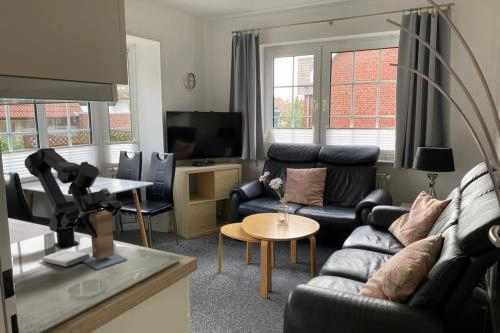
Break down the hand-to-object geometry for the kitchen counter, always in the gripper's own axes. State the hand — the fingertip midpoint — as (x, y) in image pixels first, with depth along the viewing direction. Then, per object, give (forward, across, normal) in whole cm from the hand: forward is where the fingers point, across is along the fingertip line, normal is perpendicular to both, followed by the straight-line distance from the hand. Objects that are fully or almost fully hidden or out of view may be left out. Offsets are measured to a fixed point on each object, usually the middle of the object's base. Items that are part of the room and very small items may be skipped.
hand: (104, 235), depth 115 cm
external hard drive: (-2, -7, +14) cm, 16 cm away
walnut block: (+4, 0, +6) cm, 7 cm away
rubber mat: (+5, 0, +7) cm, 9 cm away
